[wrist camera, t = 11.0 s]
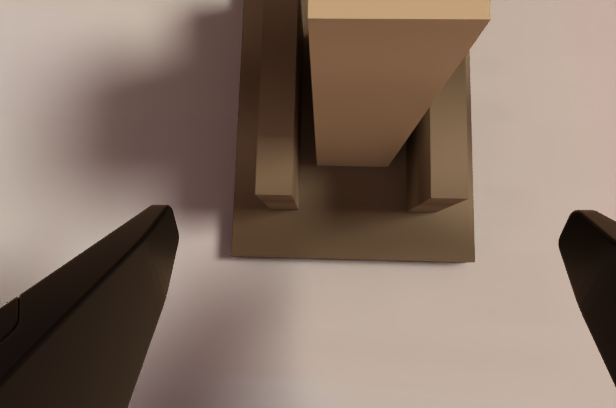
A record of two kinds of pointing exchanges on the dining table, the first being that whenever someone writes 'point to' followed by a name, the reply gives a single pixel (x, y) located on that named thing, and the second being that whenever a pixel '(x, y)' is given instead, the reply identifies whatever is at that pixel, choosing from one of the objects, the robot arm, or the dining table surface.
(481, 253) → the dining table surface
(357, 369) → the dining table surface
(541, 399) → the dining table surface
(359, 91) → the tan rectangular block
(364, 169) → the slot rack
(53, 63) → the dining table surface
